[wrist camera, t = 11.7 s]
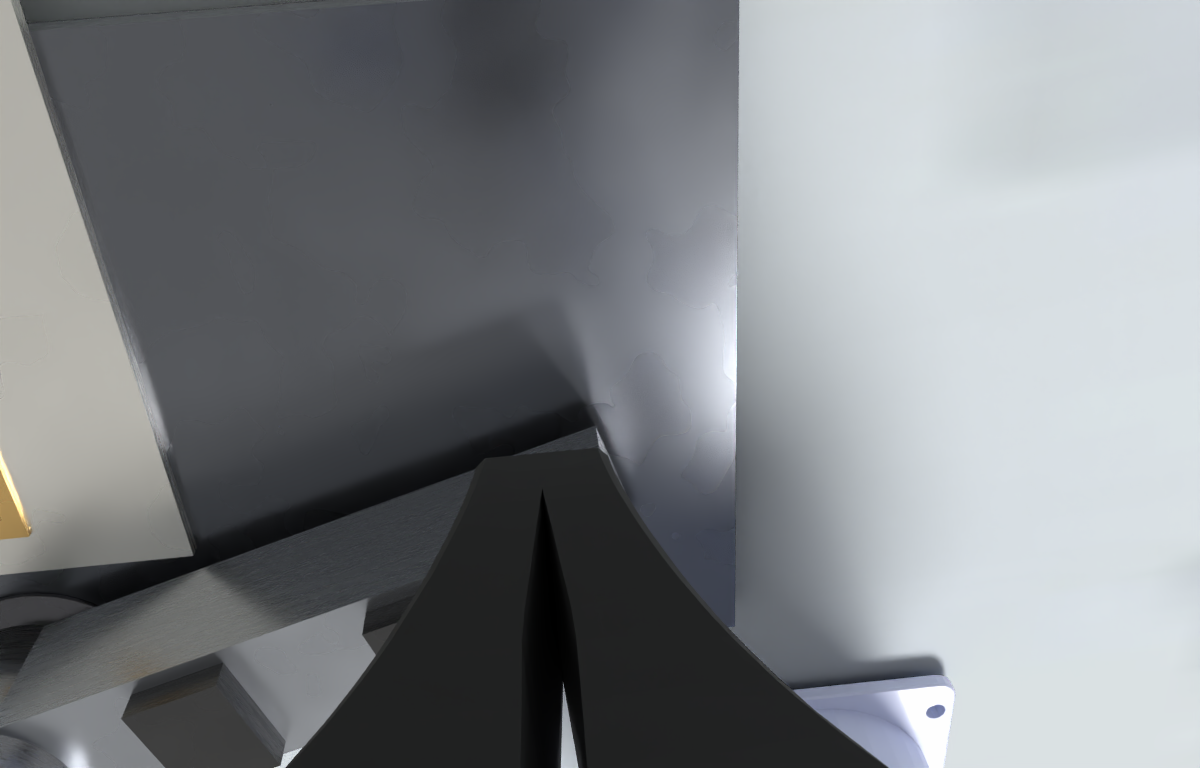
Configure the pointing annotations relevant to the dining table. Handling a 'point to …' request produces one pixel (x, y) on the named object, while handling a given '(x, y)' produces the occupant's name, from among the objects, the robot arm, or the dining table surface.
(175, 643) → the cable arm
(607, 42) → the psu panel
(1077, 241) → the dining table surface
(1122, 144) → the dining table surface
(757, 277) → the dining table surface
